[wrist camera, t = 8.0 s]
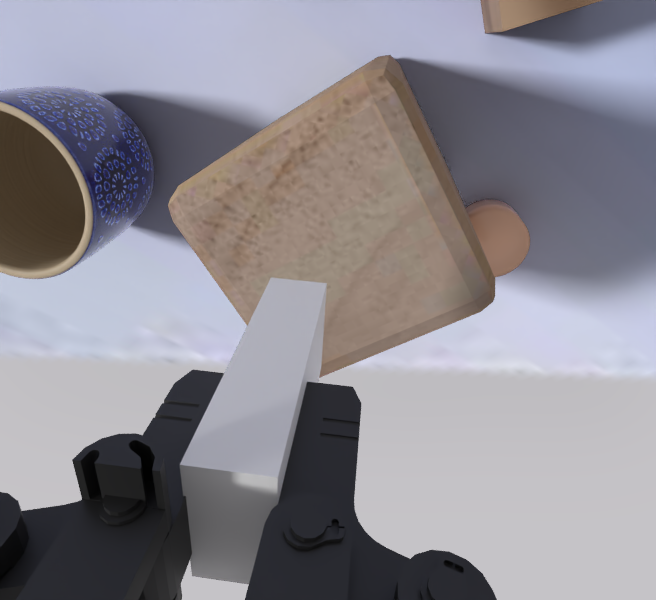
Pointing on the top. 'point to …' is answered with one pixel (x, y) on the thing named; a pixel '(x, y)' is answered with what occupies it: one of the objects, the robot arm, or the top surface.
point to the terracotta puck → (499, 234)
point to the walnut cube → (523, 11)
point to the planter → (66, 178)
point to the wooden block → (343, 217)
